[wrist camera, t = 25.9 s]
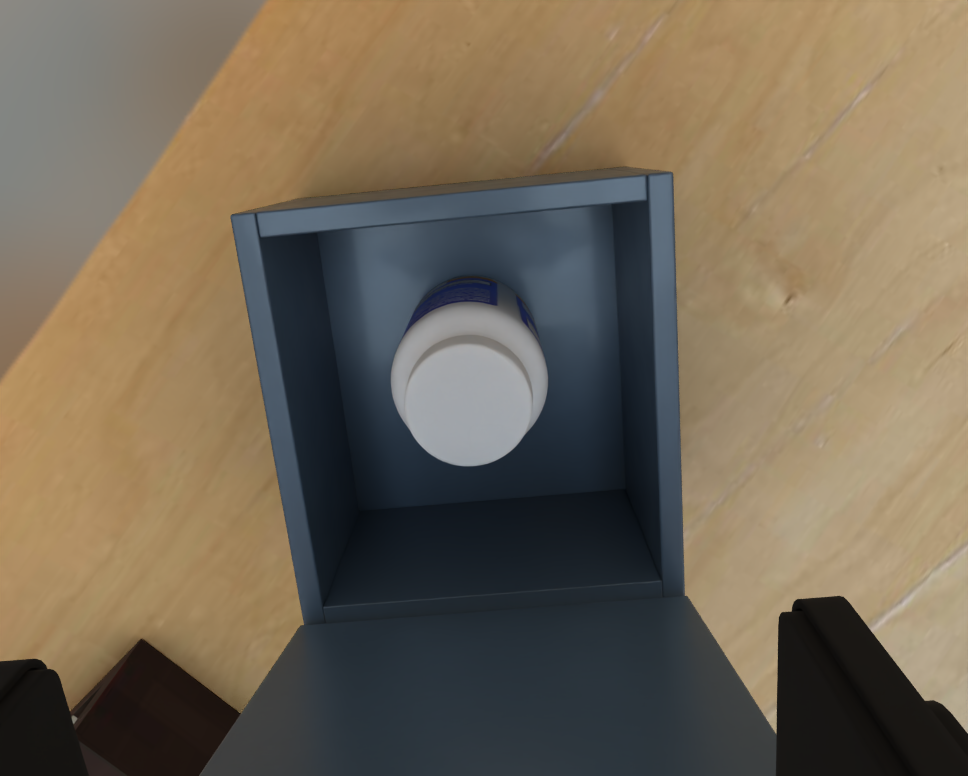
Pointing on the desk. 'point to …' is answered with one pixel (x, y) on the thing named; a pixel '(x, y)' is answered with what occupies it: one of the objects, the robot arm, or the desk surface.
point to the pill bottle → (470, 371)
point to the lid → (504, 698)
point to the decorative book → (149, 719)
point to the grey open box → (543, 449)
